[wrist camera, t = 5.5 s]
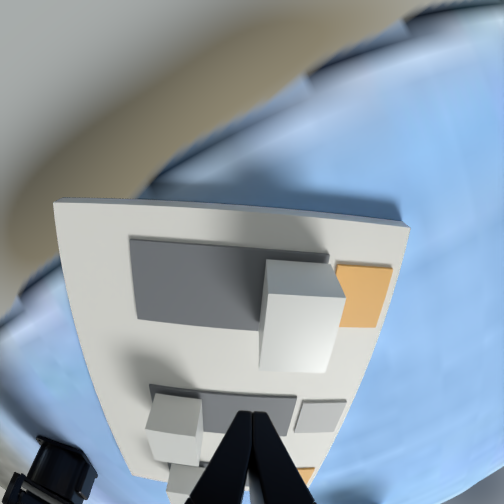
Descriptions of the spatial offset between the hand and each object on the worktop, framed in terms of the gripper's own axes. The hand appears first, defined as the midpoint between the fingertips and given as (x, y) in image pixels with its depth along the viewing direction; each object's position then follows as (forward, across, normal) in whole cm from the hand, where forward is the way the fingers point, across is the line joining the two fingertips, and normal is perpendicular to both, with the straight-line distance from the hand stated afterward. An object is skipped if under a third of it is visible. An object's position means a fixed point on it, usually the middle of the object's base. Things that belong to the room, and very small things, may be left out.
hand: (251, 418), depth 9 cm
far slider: (+7, +4, +20) cm, 22 cm away
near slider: (+7, -2, 0) cm, 8 cm away
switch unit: (+9, +2, +10) cm, 14 cm away
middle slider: (+7, +4, +10) cm, 13 cm away
